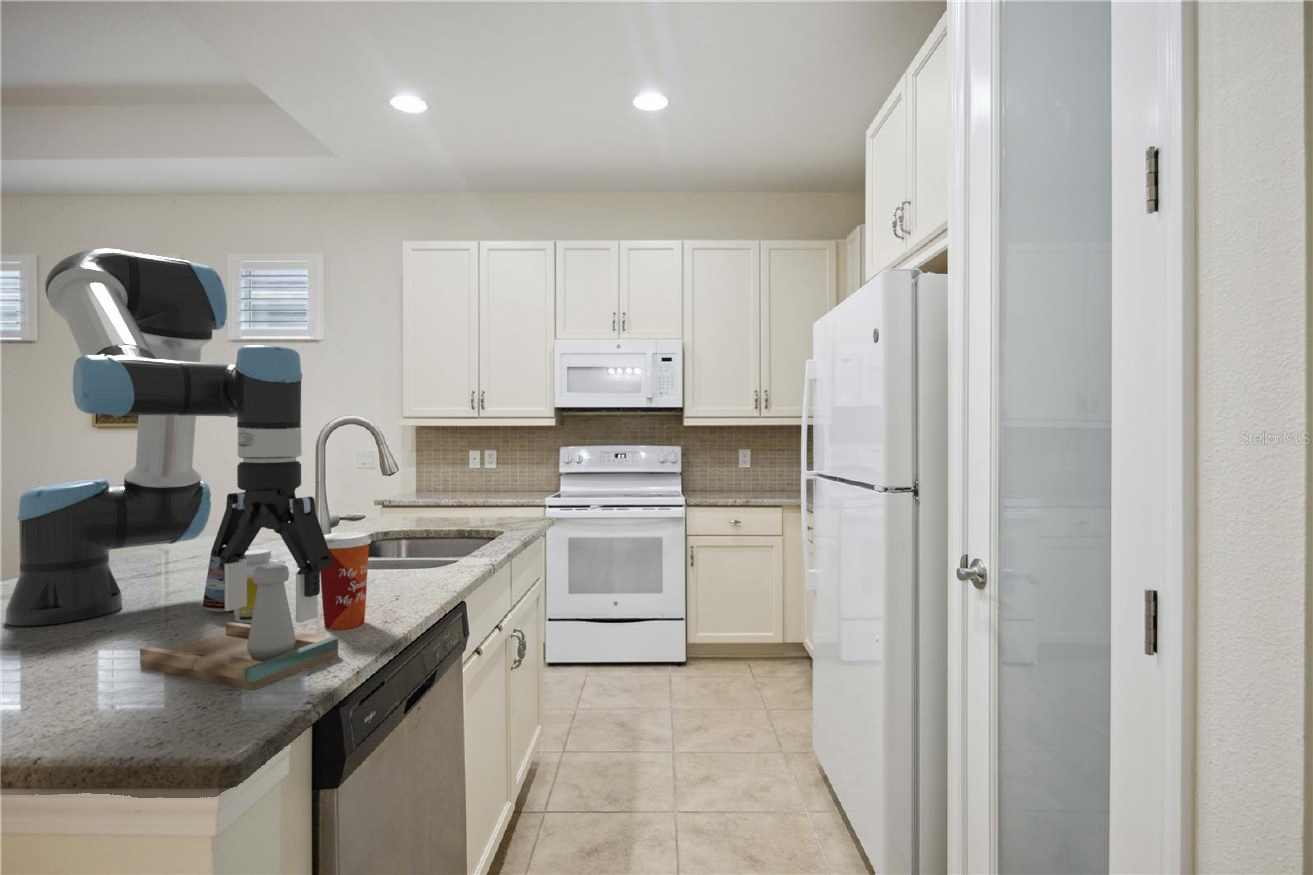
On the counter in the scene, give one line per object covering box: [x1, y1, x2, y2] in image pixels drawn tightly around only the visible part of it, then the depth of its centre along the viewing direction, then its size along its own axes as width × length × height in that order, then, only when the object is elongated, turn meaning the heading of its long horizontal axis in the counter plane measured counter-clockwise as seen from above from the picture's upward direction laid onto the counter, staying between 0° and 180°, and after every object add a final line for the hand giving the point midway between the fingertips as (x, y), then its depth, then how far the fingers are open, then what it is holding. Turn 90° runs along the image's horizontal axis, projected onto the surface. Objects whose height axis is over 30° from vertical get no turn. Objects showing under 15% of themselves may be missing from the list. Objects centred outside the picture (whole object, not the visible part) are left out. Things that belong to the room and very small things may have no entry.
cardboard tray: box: [139, 621, 339, 691], centre depth 91 cm, size 22×13×2 cm, turn 69°
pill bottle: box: [233, 548, 272, 624], centre depth 111 cm, size 6×6×12 cm
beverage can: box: [202, 545, 250, 612], centre depth 116 cm, size 6×7×12 cm
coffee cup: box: [320, 531, 372, 631], centre depth 107 cm, size 8×8×15 cm
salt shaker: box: [247, 563, 296, 662], centre depth 89 cm, size 6×6×13 cm
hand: (270, 614), depth 89 cm, fingers open, 13 cm apart
